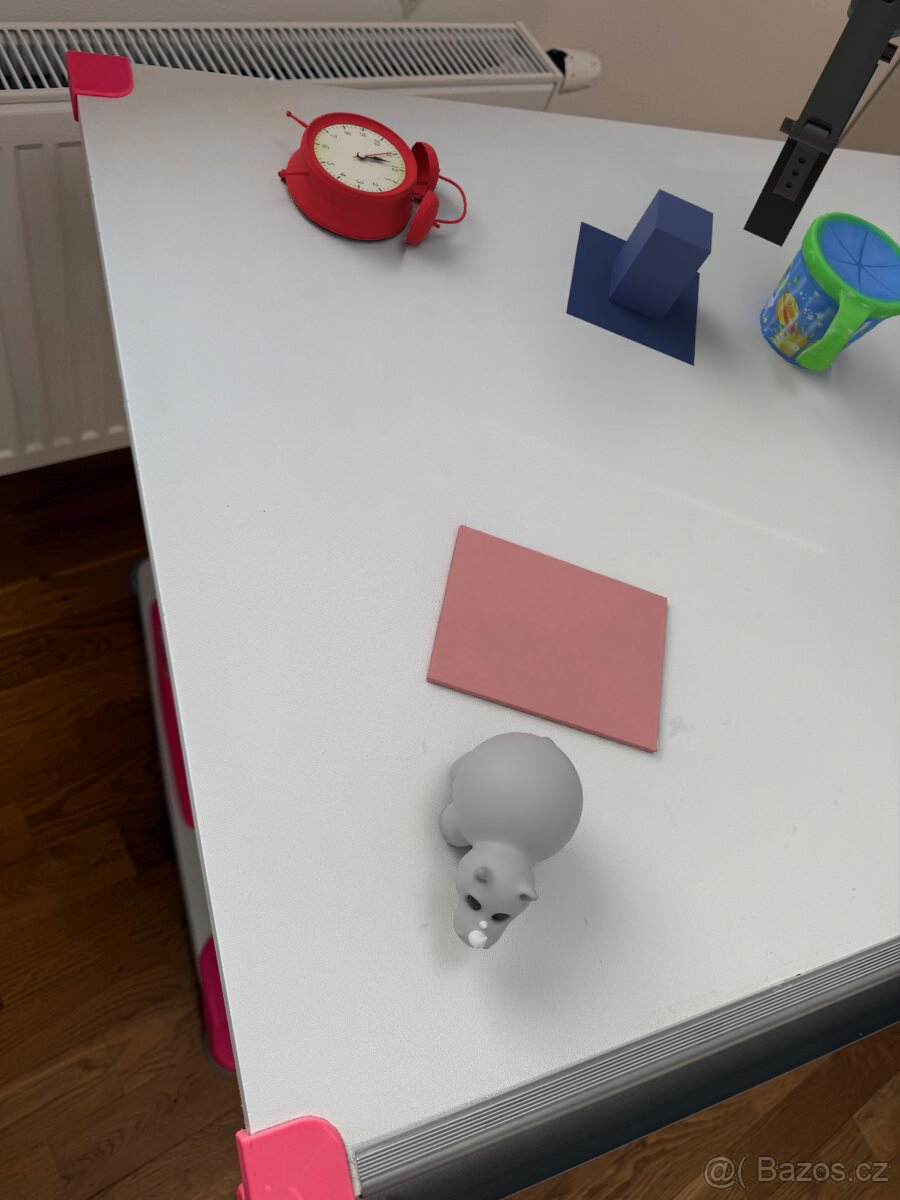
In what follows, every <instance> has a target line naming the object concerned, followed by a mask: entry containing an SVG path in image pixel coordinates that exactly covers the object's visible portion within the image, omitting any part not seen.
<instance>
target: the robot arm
mask: <svg viewBox="0 0 900 1200" xmlns="http://www.w3.org/2000/svg"><path fill="white" fill-rule="evenodd" d="M846 16H847V18H848V21H847V22H846V25H845V26H844V29H843V30H842V32H841V34H840V36H839V38H838V39H837V42H836V44H835V46H834V48H833V49H832V51H831V54H830V56H829V58H828V60H827V62H826V63H825V66H824V67H823V69H822V71H821V73H820V75H819V77H818V79H817V81H816V83H815V85H814V86H813V89H812V91H811V93H810V95H809V97H808V98H807V101H806V103H805V105H804V107H803V108H802V110H801V113H800V115H799V116H798V117H797V119H796V120H794V119H792V118H791V117H787V116H785V117H784V118H783V121H782V123H781V125H780V127H779V132H780V133H782V134H785V135H788V137H787V139H786V140H785V142H784V144H783V146H782V148H781V150H780V153H779V155H778V157H777V159H776V161H775V162H774V165H773V167H772V169H771V171H770V173H769V175H768V177H767V179H766V181H765V184H764V186H763V187H762V190H761V192H760V194H759V196H758V198H757V200H756V202H755V203H754V206H753V208H752V210H751V212H750V214H749V216H748V217H747V220H746V222H745V224H744V226H743V228H742V230H743V231H745V232H748V233H750V234H752V235H754V236H757V237H759V238H761V239H763V240H765V241H767V242H770V243H772V244H775V245H777V246H779V247H781V248H783V246H784V244H785V242H786V240H787V238H788V236H789V235H790V233H791V231H792V229H793V227H794V226H795V223H796V222H797V219H798V218H799V216H800V214H801V212H802V211H803V208H804V206H805V205H806V203H807V201H808V199H809V197H810V195H811V193H812V192H813V190H814V188H815V186H816V184H817V183H818V180H819V178H820V177H821V174H822V173H823V171H824V169H825V167H826V166H827V164H828V162H829V160H830V158H831V156H832V154H833V152H834V151H835V150H836V148H837V146H838V144H839V142H840V138H841V137H842V134H843V132H844V131H845V129H846V128H847V125H848V123H849V122H850V120H851V118H852V116H853V114H854V112H855V110H856V108H857V106H858V105H859V103H860V101H861V99H862V97H863V95H864V93H865V92H866V90H867V87H868V86H869V84H870V82H871V81H872V78H873V77H874V75H875V73H876V71H877V69H878V68H879V65H880V64H879V61H881V62H882V63H886V64H887V65H890V64H891V63H892V60H893V58H894V56H895V55H896V53H897V51H898V49H899V47H900V46H899V45H897V44H895V43H892V42H890V41H891V40H893V39H896V38H900V0H850V2H849V4H848V7H847V10H846Z"/></svg>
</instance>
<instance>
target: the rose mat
mask: <svg viewBox="0 0 900 1200" xmlns="http://www.w3.org/2000/svg"><path fill="white" fill-rule="evenodd" d="M447 576H448V577H447V582H446V586H445V591H444V596H443V600H442V605H441V611H440V614H439V619H438V624H437V629H436V633H435V638H434V642H433V647H432V653H431V656H430V661H429V666H428V671H427V675H426V681H427V682H430V683H433V684H436V685H440V686H443V687H446V688H448V689H452V690H455V691H458V692H461V693H465V694H467V695H470V696H473V697H477V698H480V699H483V700H486V701H490V702H492V703H495V704H498V705H502V706H505V707H508V708H510V709H514V710H518V711H521V712H524V713H527V714H530V715H533V716H537V717H539V718H541V719H542V718H543V719H545V720H548V721H552V722H555V723H557V724H561V725H565V726H567V727H571V728H574V729H576V730H579V731H583V732H586V733H589V734H592V735H595V736H598V737H601V738H604V739H607V740H611V741H613V742H617V743H621V744H624V745H626V746H630V747H633V748H635V749H639V750H642V751H645V752H647V753H652V754H655V753H656V752H657V751H658V740H659V739H658V738H659V728H660V727H659V726H660V725H659V724H660V711H661V710H660V709H661V698H662V697H661V696H662V682H663V681H662V680H663V669H664V668H663V667H664V666H663V665H664V653H665V639H666V638H665V637H666V624H667V623H666V622H667V608H668V597H665V596H663V595H660V594H657V593H655V592H652V591H649V590H646V589H644V588H640V587H638V586H635V585H632V584H629V583H626V582H624V581H621V580H618V579H615V578H612V577H610V576H607V575H604V574H601V573H598V572H595V571H593V570H589V569H588V568H584V567H581V566H579V565H575V564H573V563H570V562H568V561H565V560H562V559H559V558H558V557H557V558H556V557H553V556H551V555H548V554H545V553H542V552H541V551H536V550H534V549H531V548H528V547H526V546H523V545H520V544H518V543H515V542H512V541H509V540H506V539H504V538H500V537H498V536H495V535H491V534H489V533H487V532H483V531H481V530H478V529H475V528H472V527H470V526H467V525H465V524H460V525H459V527H458V529H457V534H456V539H455V544H454V548H453V553H452V558H451V563H450V567H449V572H448V575H447Z"/></svg>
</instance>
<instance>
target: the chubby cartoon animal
mask: <svg viewBox="0 0 900 1200" xmlns="http://www.w3.org/2000/svg"><path fill="white" fill-rule="evenodd" d="M450 780H451V781H452V784H453V785H452V792H451V802H450V803H448V805H446V806H445V807H444V808H443V810H442V811H441V813H440V816H439V819H438V825H439V826H438V827H439V831H440V833H441V836H442V837H443V839H445V841H446V842H447V843H449V844H450V845H451V846H453V847H459V848H461V847H463V848H464V847H467V846H471V847H472V848H470V850H469V851H468V852H467V853H465V855H463V857H462V858H461V860H460V862H459V864H458V866H457V869H456V872H455V879H454V881H455V883H454V884H455V889H456V891H457V895H458V899H459V900H458V901H459V902H458V904H457V906H456V908H455V911H454V915H453V921H452V922H453V928H454V931H455V933H456V935H457V936H458V938H459V939H460V941H462V943H464V944H465V945H466V946H468V947H470V948H472V949H483V950H489V949H490V948H491V947H493V946H494V945H495V944H497V943H498V941H500V940H501V938H502V936H503V934H504V933H505V931H506V929H507V928H508V926H509V925H510V924H511V923H512V922H513V921H514V920H515V919H516V918H518V916H520V915H521V914H522V913H523V912H525V910H527V908H528V907H529V906H530V904H531V903H532V902H536V901H538V899H539V894H538V892H537V890H536V879H535V874H534V869H533V868H534V866H535V865H536V864H538V863H541V862H544V861H546V860H549V859H550V858H552V857H553V856H555V855H557V854H558V853H559V852H560V851H561V850H562V849H563V848H565V847H566V846H567V844H568V843H569V842H570V840H571V839H572V838H573V836H574V835H575V833H576V831H577V829H578V827H579V824H580V822H581V818H582V815H583V809H584V808H583V807H584V792H583V786H582V781H581V778H580V776H579V773H578V771H577V768H576V767H575V764H574V763H573V762H572V760H571V759H570V757H569V756H568V755H567V754H566V753H565V752H564V751H563V750H562V749H561V748H560V747H559V746H557V745H556V743H555V741H554V740H553V739H551V738H550V737H549V736H539V735H536V734H533V733H528V732H520V731H519V732H518V731H516V732H514V731H513V732H504V733H500V734H497V735H495V736H491V737H489V738H487V739H485V740H483V741H482V742H480V743H479V744H478V745H476V746H475V747H474V748H473V749H472V750H470V751H468V752H465V753H463V754H462V755H460V756H459V757H458V758H457V759H456V760H455V761H454V763H453V764H452V767H451V770H450Z"/></svg>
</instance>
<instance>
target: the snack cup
mask: <svg viewBox="0 0 900 1200" xmlns="http://www.w3.org/2000/svg"><path fill="white" fill-rule="evenodd" d="M759 316H760V317H759V318H760V319H759V320H760V321H759V323H760V327H761V329H760V331H761V335H762V336H763V338H764V339H765V340H766V341H767V342H768V344H769V345H770V346H771V348H772V349H773V350H774V351H775V352H776V353H777V354H779V355H780V356H781V357H783V358H784V359H785V360H786V361H788V362H789V363H791V364H793V365H798V366H801V367H803V368H805V369H808V370H810V371H813V372H823V371H824V372H825V371H826V370H827V369H828V368H830V367H831V366H832V364H833V363H834V362H835V360H836V358H837V357H838V355H839V354H840V353H842V352H843V351H844V350H846V349H847V348H848V347H850V346H851V345H852V344H854V343H856V341H858V340H860V338H862V337H864V336H865V335H866V334H867V333H870V332H871V331H872V330H873V329H875V328H876V327H877V326H878V325H880V324H881V323H882V322H884V321H886V320H887V319H890V318H893V317H898V316H900V245H899V244H898V243H897V241H895V240H894V239H893V238H892V237H891V236H890V235H889V234H887V233H886V232H885V231H883V230H882V229H881V228H880V227H878V226H877V225H876V224H873V223H872V222H870V221H869V220H866V219H864V218H862V217H859V216H857V215H854V214H851V213H848V212H840V211H838V212H836V211H835V212H829V213H828V212H827V213H825V214H821V215H819V216H817V217H816V218H814V220H812V222H811V223H810V226H809V228H808V229H807V231H806V232H805V234H804V235H803V239H802V241H801V247H800V249H798V251H797V252H796V254H795V255H794V257H793V259H792V260H791V262H790V263H789V265H788V267H787V268H786V270H785V272H784V273H783V274H782V276H781V278H780V280H779V281H778V283H777V284H776V286H775V289H774V290H772V292H771V295H770V296H769V297H768V299H767V301H766V302H765V305H764V306H763V308H762V310H761V312H760V315H759Z"/></svg>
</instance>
